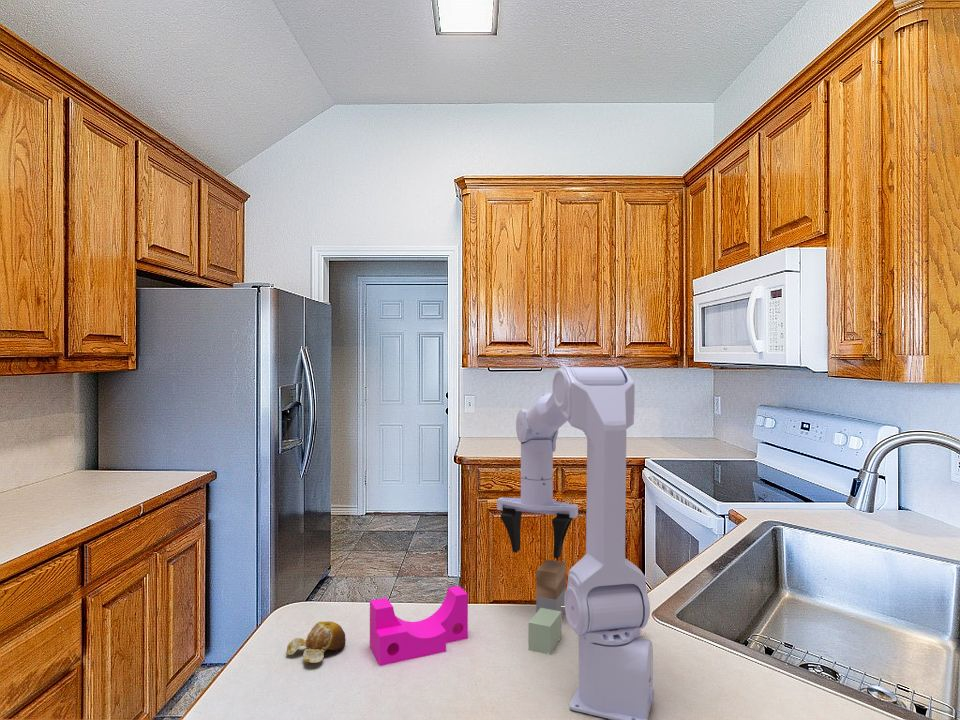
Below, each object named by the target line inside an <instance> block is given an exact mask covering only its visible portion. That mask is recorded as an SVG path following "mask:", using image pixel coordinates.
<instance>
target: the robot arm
mask: <svg viewBox="0 0 960 720" xmlns="http://www.w3.org/2000/svg"><path fill="white" fill-rule="evenodd" d="M635 390H636V389H635V382H634V380H633V378H632V377H631V375H630V374H629V372H628V370H627V369H626V368H625V367H624V366H622V365H621V366H620V365H617V366H616V365H615V366H614V367H613V366H567V365H560V367H558V368H557V370H556V371H555V373H554V375H553V380H552V392H544V393H543V394H541V396H540V398H539V399H538V400H537V401H536V402H535V404H534V405H533V406H532V407H531V408H530V409H528V410H526V409H524V408H522V409H519V410H518V412H517V415H516V420H515V421H516V422H515V431H516V437H517V439H518V441H519V442H520V497H502V496H501V497H499V498H498V499H496V509H497V511H502V513H500V519H501V521H502V523H503V524H504V527H505V529H506V532H507V534H508V537H509V540H510V545H511V549H512V553H515V554H516V553H518V552H519V551H520V550H521V524H522V523H521V522H522V514H523V513H524V512H525V513H534V514H543V515H553V516H555V517H554V518H552V522H551V523H552V528H553V540H554V541H553V557H554V559H559V558H560V557H561V556H562V551H563V546H564V541H565V538H566V534H567V533H568V530H569V527H570V525H571V524H572V521H573V519H576V518H577V517H578V516H579V505H578V504H574V503H568V502H564V501H563V502H562V501H558V500H554V497H553V496H554V456H553V455H554V453H555V452H556V447H557V446H556V444H557V439H558V435H559V429H560V428H562V426H564V424H566V423H567V422H568V423H569V425H570V426H571V427H573V428H575V429H577V430H581V431H582V432H583V433H584V435H585V437H586V439H587V440H586V510H585V511H586V513H585V514H586V518H585V519H586V521H585V522H586V523H585V524H586V526H585V528H586V529H585V531H586V532H585V533H586V534H585V539H586V540H585V554H584V555H583V557H582V558H580V560H578V561H577V562H575V564H574V565H573V566H572V567H571V568H570V569H569V571H568V575H567V576H568V577H567V583H566V592H565V598H564V605H565V613H564V614H565V617H566V620H567V623H568V625H569V627H570V629H571V630H572V631H573V632H574V634H576V635H577V636H578V685H577V686H578V687H577V689H576V691H575V693H574V694H573V697H572V699H571V701H570V703H569V704H568V705H569V710H571V711H576V712H579V713H583V714H587V715H591V716H597V717H600V718H604V719H608V720H649V719H648V718H649V715H650V711H651V708H652V703H653V702H654V696H655V695H654V694H655V693H654V691H655V688H654V666H653V665H654V652H653V651H654V649H653V647H654V646H653V641H652V640H651V639H648V638H646V637H643V636H641V637H640V632H641V631H640V629H641V628H642V629H644V628H645V627H646V626H647V624H648V622H649V619H650V615H651V607H650V604H651V603H650V599H649V595H648V591H647V583H646V582H647V581H646V580H647V579H646V576H645V574H644V573H643V572H642V570H641V569H640V568H639V567H638V566H637V565H636V564H634V563H633V562H632V561H630V560H629V559H628V558H626V518H627V517H626V513H627V512H626V508H627V507H626V506H627V505H626V501H627V500H626V499H627V498H626V497H627V495H626V494H627V430H628V428H630V427H631V426H632V427H633V425H634V423H635V418H634V417H635V392H636V391H635Z"/></svg>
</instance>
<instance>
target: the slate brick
mask: <svg viewBox="0 0 960 720" xmlns="http://www.w3.org/2000/svg"><path fill="white" fill-rule="evenodd" d="M566 589H567V587H566V588H565V589H564V590H563V592H562V593H561V594H560V595H559V597H558V598H557V599H556V600H554V599H549V598H543V597H537V596H536V595H535V598H536V599H535V604H536V605H535V609H536V610H535V614H536V613H537V612H538V610H539V609H540V608H545V609H550V610H556V611H561V618H562V617H563V616H562V615H564V614H566V613H565V607H561V606H565V605H564V598H565V592H566Z"/></svg>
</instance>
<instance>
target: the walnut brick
mask: <svg viewBox="0 0 960 720" xmlns="http://www.w3.org/2000/svg"><path fill="white" fill-rule="evenodd" d="M535 573H536V574H535V575H536V577H535V579H536V580H535V584H536V586H535V587H536V589H535V592H536V593H535V594H536V595H535V597H536V596H537V597H543V598H549V599H554V600H556V599H557V598H558V597H559V595H560V594H561V593H562V592H563V590H564V589H565V588H566V589H567V562H565V561H560V560H555V559H554V560H553V559H546V560H545V561H544V562H543V563H542V564H541V565H540V566H539V567H538V568H536V572H535Z"/></svg>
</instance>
